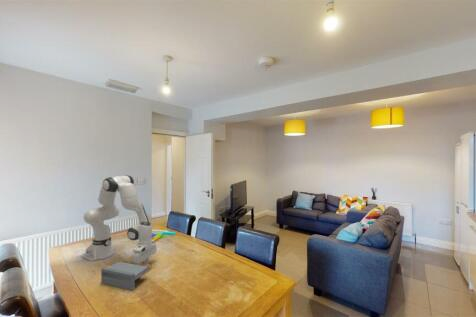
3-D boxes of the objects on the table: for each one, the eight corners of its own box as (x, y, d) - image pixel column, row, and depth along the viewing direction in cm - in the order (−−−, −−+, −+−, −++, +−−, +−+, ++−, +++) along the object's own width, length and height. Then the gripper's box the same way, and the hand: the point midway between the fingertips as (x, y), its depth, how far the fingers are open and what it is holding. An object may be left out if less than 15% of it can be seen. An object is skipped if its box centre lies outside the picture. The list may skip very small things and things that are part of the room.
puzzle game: (131, 243, 197) (161, 245, 191) (131, 240, 197) (161, 242, 191) (151, 232, 227) (177, 234, 221) (151, 229, 227) (177, 231, 221)
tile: (122, 277, 139) (122, 272, 139) (138, 267, 152) (138, 262, 152) (135, 280, 136) (135, 274, 136) (150, 269, 150) (150, 264, 150)
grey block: (101, 283, 133) (101, 268, 133) (118, 272, 145) (118, 259, 145) (132, 290, 125) (132, 275, 125) (147, 278, 138) (147, 264, 138)
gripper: (151, 239, 163) (151, 257, 163) (131, 250, 144) (131, 270, 144) (158, 240, 161) (158, 258, 161) (138, 251, 142) (138, 272, 142)
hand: (145, 264), depth 152 cm, fingers closed
